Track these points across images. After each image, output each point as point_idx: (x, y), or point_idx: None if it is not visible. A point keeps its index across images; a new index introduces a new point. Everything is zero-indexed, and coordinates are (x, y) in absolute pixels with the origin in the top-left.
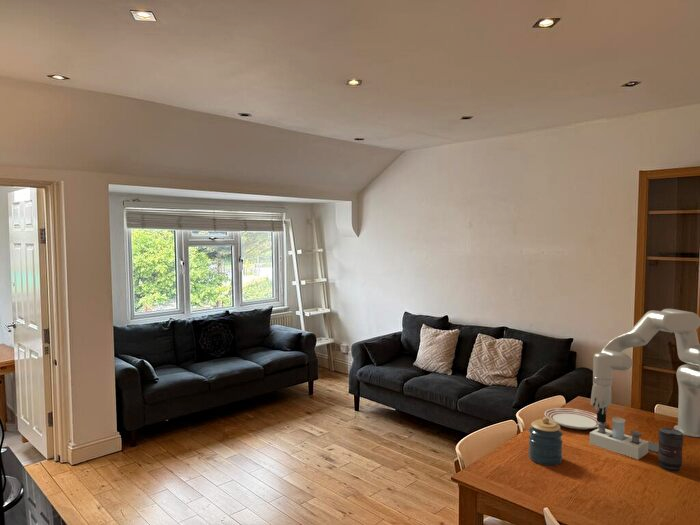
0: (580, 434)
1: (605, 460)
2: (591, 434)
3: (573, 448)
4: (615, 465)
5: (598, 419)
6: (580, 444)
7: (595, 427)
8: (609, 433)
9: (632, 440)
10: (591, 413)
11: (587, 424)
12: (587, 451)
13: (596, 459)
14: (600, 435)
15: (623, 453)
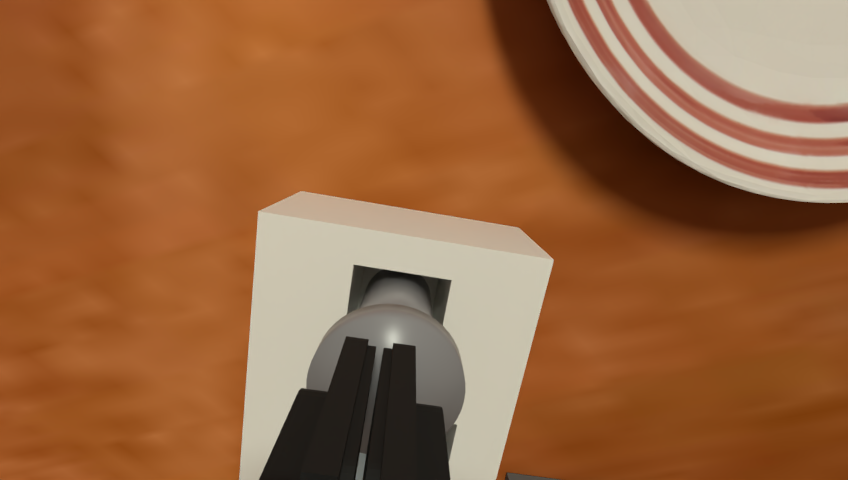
0: (489, 37)
1: (61, 388)
2: (263, 232)
3: (66, 105)
4: (39, 458)
5: (300, 397)
6: (219, 128)
7: (676, 150)
8: None
9: None
10: None
11: (821, 11)
12: (111, 231)
13: (17, 334)
14: (269, 335)
15: None
